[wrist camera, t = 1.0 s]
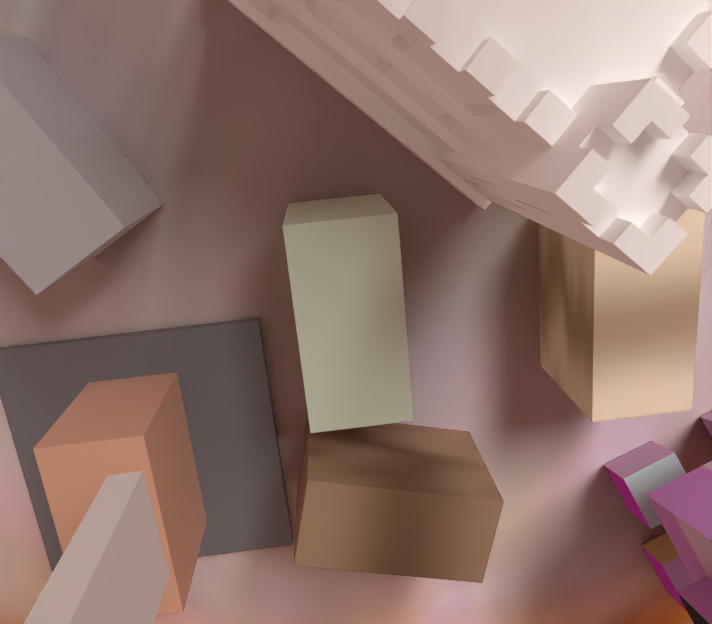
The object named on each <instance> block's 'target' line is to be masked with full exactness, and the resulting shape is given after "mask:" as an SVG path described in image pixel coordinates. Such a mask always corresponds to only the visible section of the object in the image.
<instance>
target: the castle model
mask: <svg viewBox="0 0 712 624" xmlns="http://www.w3.org/2000/svg"><path fill="white" fill-rule="evenodd" d="M227 1H228V2H230V3H231V4H232V5H233V6H234V7H236V8H237V9H238V10H239V11H241V12H242V13H243V14H244V15H245V16H247V17H248V18H249V19H250V20H252V21H253V22H254V23H255V24H256V25H258V26H259V27H260V28H261V29H262V30H264V31H265V32H266V33H267V34H269V35H270V36H271V37H272V38H273V39H275V40H276V41H277V42H278V43H280V44H281V45H282V46H283V47H284V48H286V49H287V50H288V51H289V52H290V53H292V54H293V55H294V56H295V57H297V58H298V59H299V60H300V61H301V62H303V63H304V64H305V65H306V66H308V67H309V68H310V69H311V70H312V71H314V72H315V73H316V74H317V75H319V76H320V77H321V78H322V79H323V80H325V81H326V82H327V83H328V84H329V85H331V86H332V87H333V88H334V89H336V90H337V91H338V92H339V93H340V94H342V95H343V96H344V97H345V98H347V99H348V100H349V101H350V102H351V103H353V104H354V105H355V106H356V107H358V108H359V109H360V110H361V111H362V112H364V113H365V114H366V115H367V116H368V117H370V118H371V119H372V120H373V121H375V122H376V123H377V124H378V125H379V126H381V127H382V128H383V129H384V130H386V131H387V132H388V133H389V134H390V135H392V136H393V137H394V138H395V139H396V140H398V141H399V142H400V143H401V144H403V145H404V146H405V147H406V148H407V149H409V150H410V151H411V152H412V153H414V154H415V155H416V156H417V157H418V158H420V159H421V160H422V161H423V162H425V163H426V164H427V165H428V166H429V167H431V168H432V169H433V170H434V171H435V172H437V173H438V174H439V175H440V176H442V177H443V178H444V179H445V180H446V181H448V182H449V183H450V184H451V185H453V186H454V187H455V188H456V189H457V190H459V191H460V192H461V193H462V194H463V195H465V196H466V197H467V198H468V199H470V200H471V201H472V202H473V203H474V204H476V205H477V206H479V207H480V208H482V209H484V210H486V209H487V207H488V206H489V205H490V204H491V202H494V203H496V204H498V205H500V206H502V207H505V208H507V209H509V210H511V211H513V212H515V213H517V214H520V215H522V216H524V217H526V218H528V219H530V220H532V221H535V222H537V223H539V224H541V225H543V226H545V227H547V228H550V229H552V230H554V231H556V232H558V233H560V234H562V235H565V236H567V237H569V238H571V239H573V240H575V241H577V242H580V243H582V244H584V245H586V246H588V247H590V248H592V249H595V250H597V251H599V252H601V253H603V254H605V255H607V256H610V257H612V258H614V259H616V260H618V261H620V262H622V263H625V264H627V265H629V266H631V267H633V268H635V269H637V270H640V271H642V272H644V273H646V274H648V275H650V276H651V275H652V273H653V272H654V271H655V270H656V269H657V268H658V267H659V266H660V265H661V263H662V262H663V261H664V260H665V259H666V258H667V257H668V256H669V255H670V253H671V252H672V251H673V250H674V249H675V248H676V247H677V246H678V245H679V244H680V242H681V241H682V240H683V239H684V238H685V237H686V236H687V235H688V234H687V233H686V232H685V231H684V230H683V229H681V228H680V227H679V226H678V225H677V224H676V223H675V222H676V221H677V220H678V219H679V218H680V217H681V215H682V214H683V213H684V212H685V211H686V210H687V209H692V210H696V211H700V212H705V213H708V211H709V210H710V209H711V208H712V136H711V135H710V134H692V133H689V132H688V131H687V130H685V129H684V128H683V127H682V125H683V124H684V123H685V122H686V121H687V120H688V118H689V117H690V115H689V114H688V113H687V112H686V111H685V110H684V109H683V108H682V107H681V106H682V105H683V104H684V101H683V100H682V99H681V98H680V97H679V96H678V95H677V94H676V93H677V92H678V91H679V90H680V88H681V87H682V86H683V85H684V84H685V83H686V81H687V80H688V79H689V78H690V77H691V75H692V74H693V73H694V72H697V71H705V70H712V0H227Z"/></svg>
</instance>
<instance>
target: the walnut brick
mask: <svg viewBox="0 0 712 624" xmlns="http://www.w3.org/2000/svg"><path fill="white" fill-rule="evenodd" d="M503 502H504V501H503V499H502V497H501V495H500V493H499V491H498V489H497V487H496V485H495V483H494V481H493V479H492V477H491V475H490V473H489V471H488V469H487V467H486V465H485V463H484V461H483V459H482V457H481V455H480V453H479V451H478V449H477V447H476V445H475V443H474V441H473V439H472V437H471V435H470V433H469V432H466V431H457V430H449V429H440V428H432V427H424V426H415V425H407V424H398V423H391V424H382V425H374V426H366V427H358V428H350V429H341V430H333V431H325V432H317V433H310V426H309V419H307V426H306V432H305V439H304V445H303V451H302V458H301V464H300V471H299V477H298V484H297V504H296V528H295V552H294V566H304V567H315V568H326V569H337V570H348V571H359V572H370V573H381V574H391V575H402V576H413V577H424V578H435V579H446V580H457V581H468V582H479V583H482V582H483V578H484V574H485V570H486V567H487V563H488V559H489V555H490V551H491V548H492V544H493V540H494V536H495V532H496V529H497V525H498V521H499V517H500V514H501V510H502V506H503Z"/></svg>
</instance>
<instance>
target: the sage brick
mask: <svg viewBox="0 0 712 624" xmlns="http://www.w3.org/2000/svg"><path fill="white" fill-rule="evenodd" d="M282 227H283V234H284V242H285V249H286V256H287V264H288V271H289V279H290V286H291V293H292V301H293V308H294V315H295V323H296V330H297V338H298V345H299V352H300V360H301V367H302V375H303V382H304V389H305V397H306V404H307V412H308V419H309V426H310V433H317V432H325V431H333V430H341V429H350V428H358V427H366V426H374V425H382V424H391V423H399V422H407V421H414V413H413V400H412V387H411V375H410V362H409V349H408V337H407V324H406V312H405V299H404V286H403V274H402V261H401V248H400V236H399V223H398V213H397V212H396V211H395V210H394V208H393V207H392V206H391V205H390V204H389V203H388V202H387V201H386V200H385V198H384V197H383V196H382V195H381V194H380V193H378V194H369V195H360V196H351V197H341V198H332V199H323V200H314V201H305V202H295V203H288V206H287V210H286V214H285V218H284V222H283V225H282Z"/></svg>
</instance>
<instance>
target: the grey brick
mask: <svg viewBox="0 0 712 624" xmlns="http://www.w3.org/2000/svg"><path fill="white" fill-rule="evenodd" d="M162 205H163V202H162V201H161V200H160V199H159V197H158V196H157V195H156V194H155V193H154V191H153V190H152V189H151V188H150V187H149V185H148V184H147V183H146V182H145V180H144V179H143V178H142V177H141V176H140V174H139V173H138V172H137V171H136V169H135V168H134V167H133V166H132V165H131V163H130V162H129V161H128V160H127V158H126V157H125V156H124V155H123V154H122V152H121V151H120V150H119V149H118V148H117V146H116V145H115V144H114V143H113V141H112V140H111V139H110V138H109V137H108V135H107V134H106V133H105V132H104V130H103V129H102V128H101V127H100V126H99V124H98V123H97V122H96V121H95V120H94V118H93V117H92V116H91V115H90V113H89V112H88V111H87V110H86V109H85V107H84V106H83V105H82V104H81V102H80V101H79V100H78V99H77V98H76V96H75V95H74V94H73V93H72V91H71V90H70V89H69V88H68V87H67V85H66V84H65V83H64V82H63V81H62V79H61V78H60V77H59V76H58V74H57V73H56V72H55V71H54V70H53V68H52V67H51V66H50V65H49V63H48V62H47V61H46V60H45V59H44V57H43V56H42V55H41V54H40V52H39V51H38V50H37V49H36V48H35V46H34V45H33V44H32V43H31V42H30V40H29V39H28V38H24V37H20V36H17V35H13V34H10V33H6V32H2V31H0V257H1V258H2V259H3V260H4V261H5V262H6V264H7V265H8V266H9V267H10V268H11V269H12V270H13V271H14V272H15V273H16V274H17V275H18V276H19V277H20V278H21V280H22V281H23V282H24V283H25V284H26V285H27V286H28V287H29V288H30V289H31V290H32V291H33V292H34V293H35V295H37V294H39V293H41V292H42V291H44V290H45V289H47V288H48V287H50V286H51V285H53V284H54V283H56V282H58V281H59V280H61V279H62V278H64V277H65V276H67V275H68V274H70V273H71V272H73V271H75V270H76V269H78V268H79V267H81V266H82V265H84V264H85V263H87V262H88V261H90V260H92V259H93V258H94V257H96V256H97V255H98V254H100V253H101V252H102V251H104V250H105V249H106V248H107V247H109V246H110V245H111V244H113V243H114V242H115V241H117V240H118V239H119V238H120V237H122V236H123V235H124V234H126V233H127V232H128V231H130V230H131V229H132V228H133V227H135V226H136V225H137V224H139V223H140V222H141V221H143V220H144V219H145V218H146V217H148V216H149V215H150V214H152V213H153V212H154V211H156V210H157V209H158V208H160V207H161V206H162Z"/></svg>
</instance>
